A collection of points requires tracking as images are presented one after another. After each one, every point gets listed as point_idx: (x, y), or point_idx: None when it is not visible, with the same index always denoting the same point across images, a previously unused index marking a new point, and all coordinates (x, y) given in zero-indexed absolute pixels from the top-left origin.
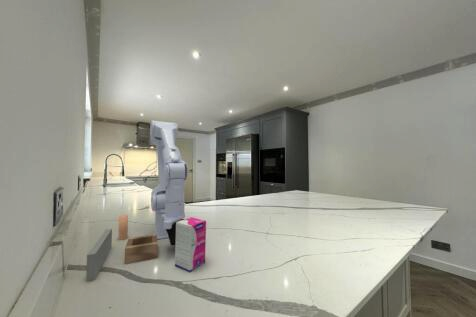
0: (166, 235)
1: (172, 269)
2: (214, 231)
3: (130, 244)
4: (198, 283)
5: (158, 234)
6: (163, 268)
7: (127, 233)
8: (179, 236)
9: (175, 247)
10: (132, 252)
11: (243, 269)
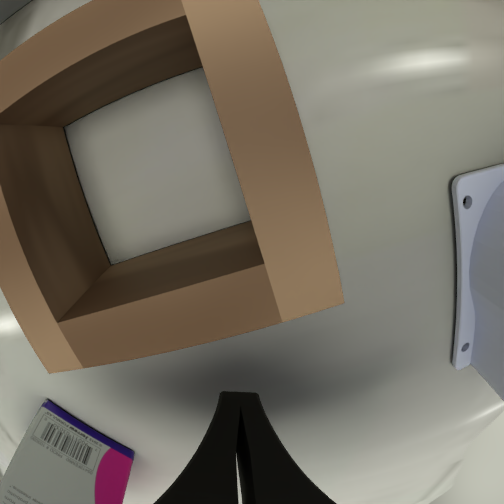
0: (473, 279)
1: (26, 389)
2: (425, 472)
3: (10, 91)
4: (3, 440)
5: (494, 214)
6: (20, 356)
7: None
8: None
9: (9, 464)
10: None
11: None
